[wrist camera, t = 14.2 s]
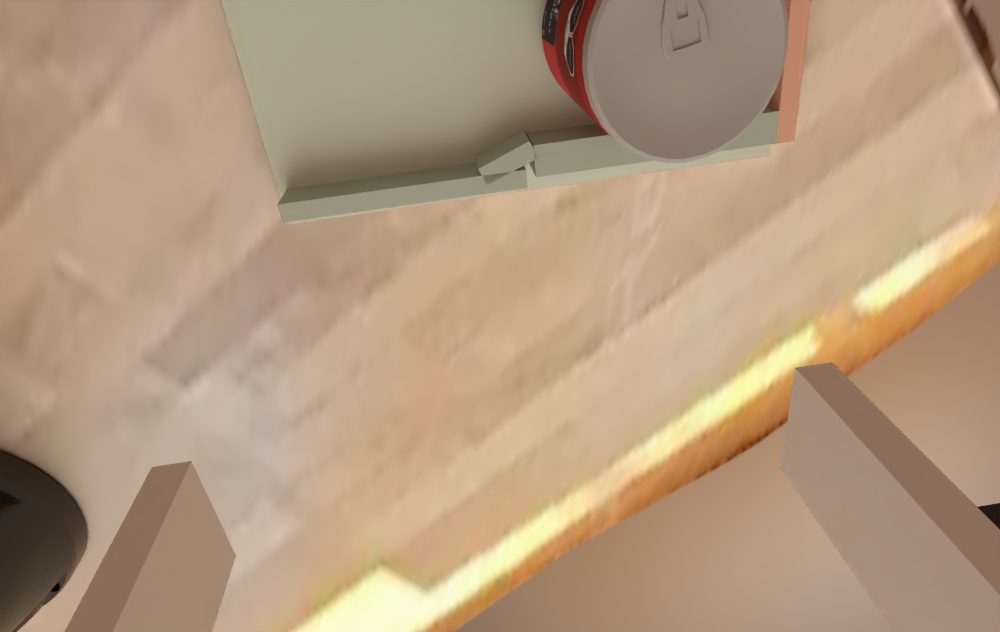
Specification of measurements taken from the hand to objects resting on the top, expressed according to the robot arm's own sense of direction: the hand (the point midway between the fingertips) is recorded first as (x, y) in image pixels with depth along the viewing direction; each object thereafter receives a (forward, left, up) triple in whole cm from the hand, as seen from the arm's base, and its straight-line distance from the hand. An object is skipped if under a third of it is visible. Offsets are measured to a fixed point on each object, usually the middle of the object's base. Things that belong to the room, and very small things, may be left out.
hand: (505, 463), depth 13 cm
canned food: (+9, +5, -25) cm, 27 cm away
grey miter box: (+4, +5, -26) cm, 27 cm away
